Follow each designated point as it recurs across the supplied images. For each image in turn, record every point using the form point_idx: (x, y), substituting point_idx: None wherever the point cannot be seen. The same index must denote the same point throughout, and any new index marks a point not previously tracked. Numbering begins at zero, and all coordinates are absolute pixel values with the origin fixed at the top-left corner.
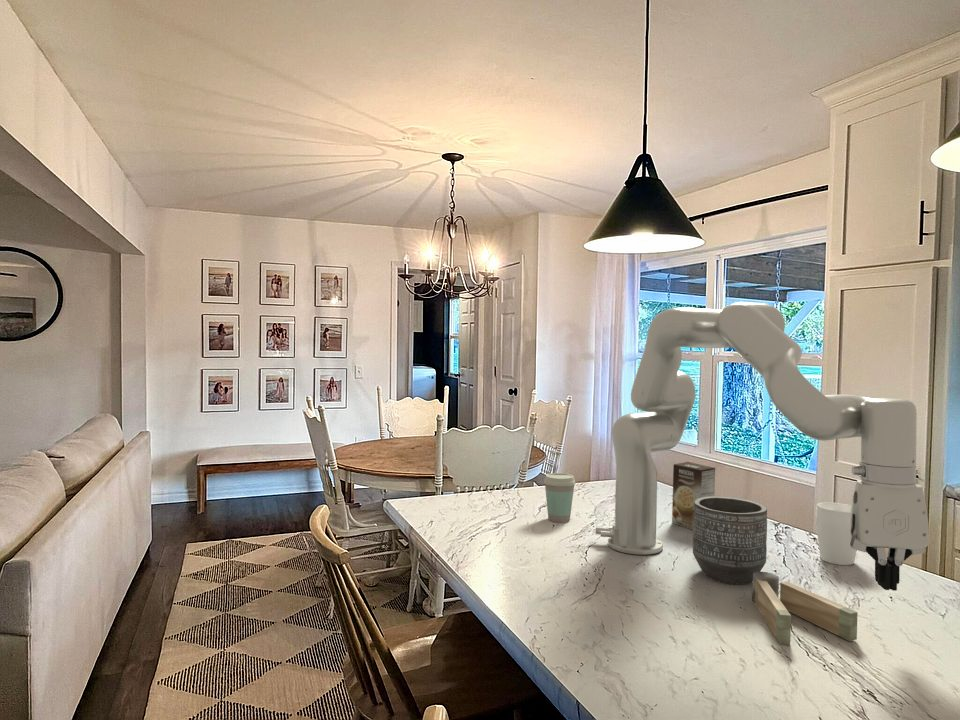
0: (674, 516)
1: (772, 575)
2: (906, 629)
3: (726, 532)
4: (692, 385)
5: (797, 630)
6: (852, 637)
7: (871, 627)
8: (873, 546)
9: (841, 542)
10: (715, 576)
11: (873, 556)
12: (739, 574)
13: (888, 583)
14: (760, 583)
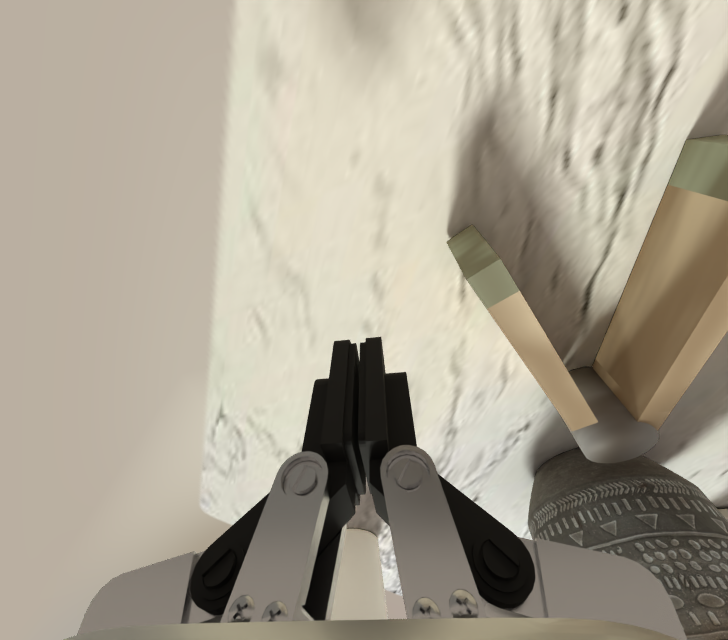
0: None
1: (596, 450)
2: (300, 342)
3: None
4: None
5: (586, 261)
6: (464, 234)
7: (376, 331)
8: (583, 629)
9: (351, 576)
10: (645, 457)
11: (467, 506)
12: (613, 463)
13: (371, 356)
14: (671, 405)
